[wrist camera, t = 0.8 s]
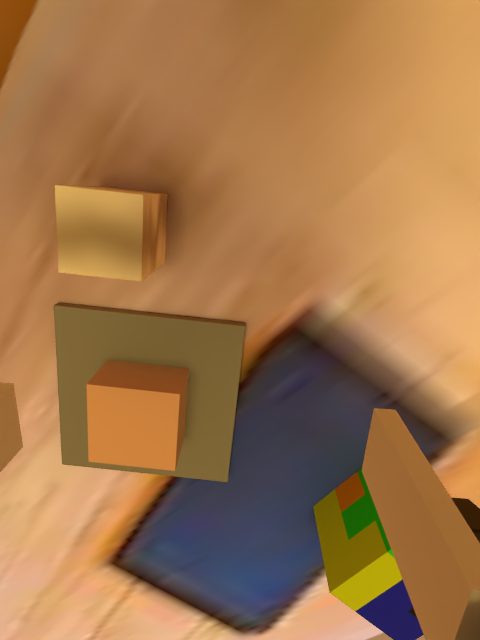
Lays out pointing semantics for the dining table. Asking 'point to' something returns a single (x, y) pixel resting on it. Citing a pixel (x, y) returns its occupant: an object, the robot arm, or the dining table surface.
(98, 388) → the base block
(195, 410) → the olive square panel
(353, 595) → the puzzle toy
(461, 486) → the dining table surface
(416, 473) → the robot arm
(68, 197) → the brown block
